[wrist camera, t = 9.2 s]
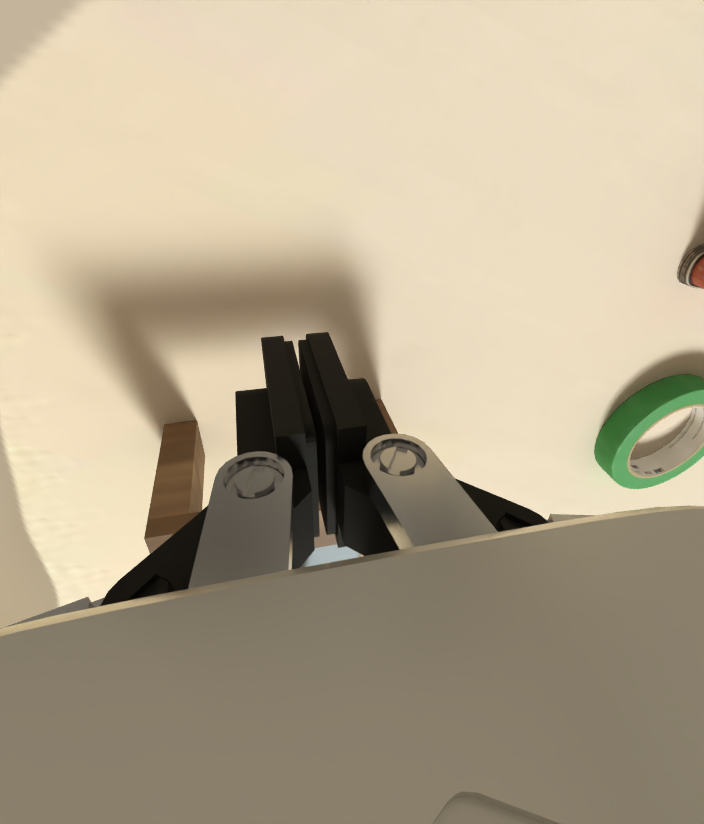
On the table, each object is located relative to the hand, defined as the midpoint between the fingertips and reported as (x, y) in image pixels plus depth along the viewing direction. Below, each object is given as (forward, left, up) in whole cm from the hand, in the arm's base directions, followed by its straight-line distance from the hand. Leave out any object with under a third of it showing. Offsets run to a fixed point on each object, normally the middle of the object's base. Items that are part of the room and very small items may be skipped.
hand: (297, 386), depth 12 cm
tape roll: (+18, +33, -16) cm, 41 cm away
